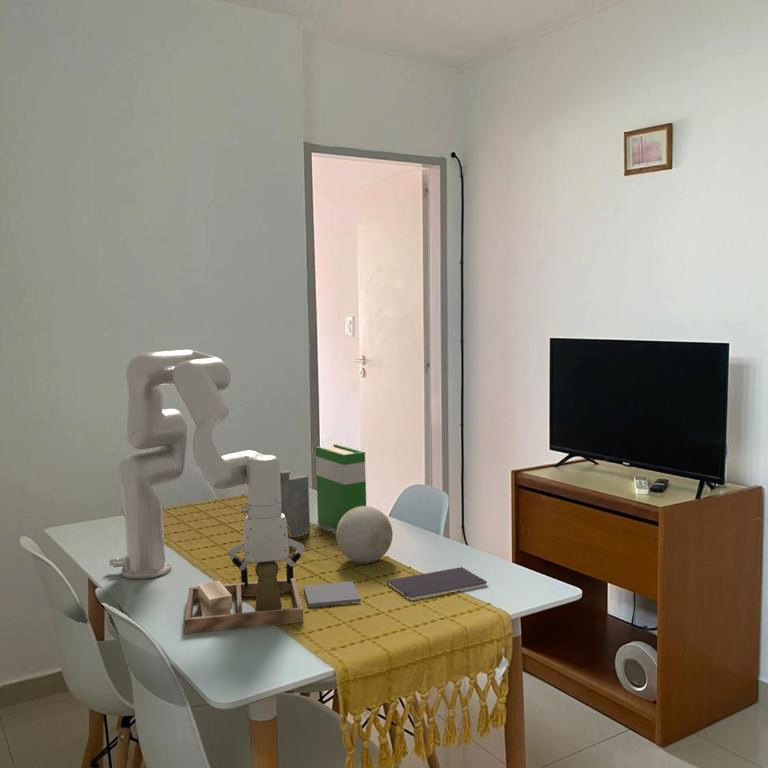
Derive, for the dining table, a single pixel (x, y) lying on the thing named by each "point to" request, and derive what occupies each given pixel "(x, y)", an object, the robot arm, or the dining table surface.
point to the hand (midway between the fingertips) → (267, 583)
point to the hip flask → (295, 502)
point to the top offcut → (215, 596)
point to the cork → (267, 587)
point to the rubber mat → (331, 594)
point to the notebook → (437, 583)
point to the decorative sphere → (364, 534)
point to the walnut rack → (248, 617)
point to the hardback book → (339, 482)
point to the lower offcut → (206, 613)
